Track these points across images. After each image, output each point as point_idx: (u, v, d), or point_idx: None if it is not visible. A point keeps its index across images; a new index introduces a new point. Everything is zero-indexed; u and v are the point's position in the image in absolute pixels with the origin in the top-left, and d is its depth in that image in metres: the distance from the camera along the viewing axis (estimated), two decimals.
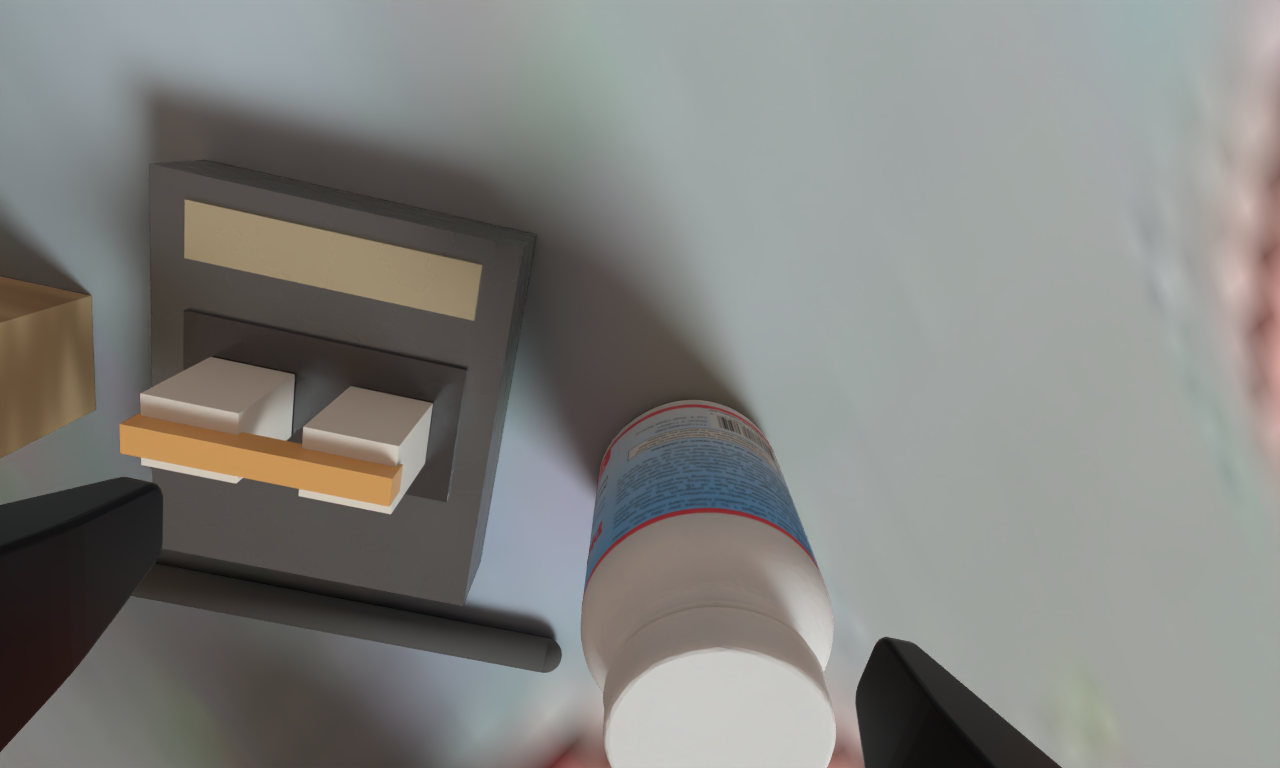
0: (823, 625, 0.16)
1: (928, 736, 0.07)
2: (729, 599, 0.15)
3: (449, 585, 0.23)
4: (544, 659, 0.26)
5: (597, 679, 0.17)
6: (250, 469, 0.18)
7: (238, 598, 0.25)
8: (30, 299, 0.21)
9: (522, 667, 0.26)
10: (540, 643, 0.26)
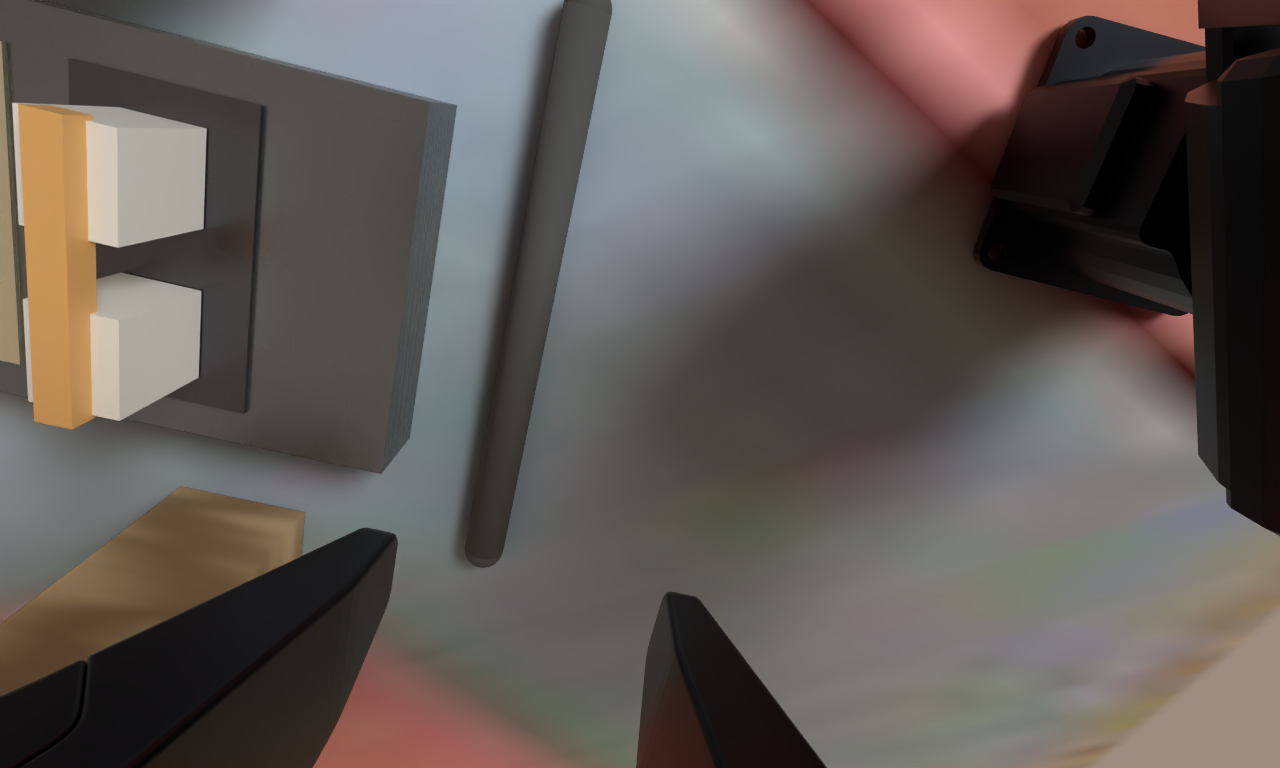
0: None
1: (670, 684, 0.07)
2: None
3: (397, 118, 0.17)
4: (575, 3, 0.17)
5: None
6: (53, 287, 0.14)
7: (495, 410, 0.21)
8: None
9: (590, 40, 0.18)
10: (563, 14, 0.18)
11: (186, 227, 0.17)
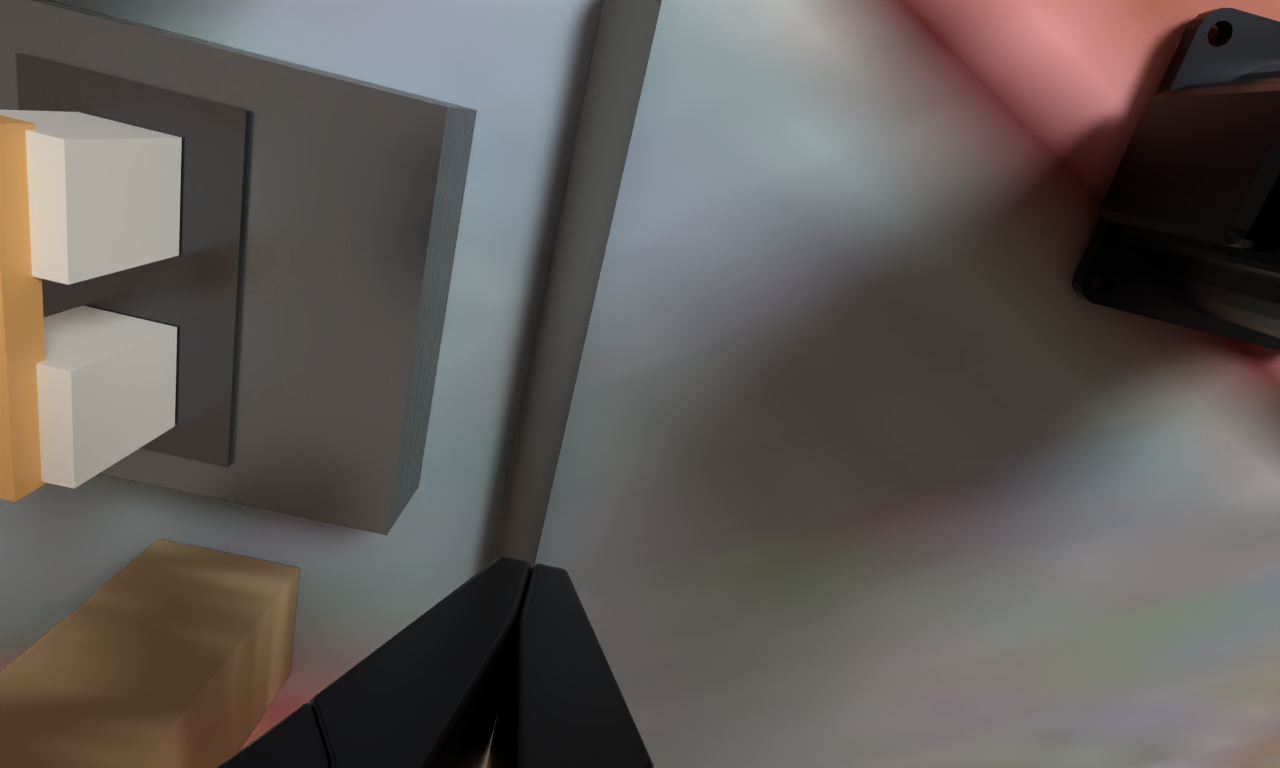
0: None
1: (512, 652, 0.07)
2: None
3: (408, 126, 0.14)
4: None
5: None
6: None
7: (517, 460, 0.18)
8: None
9: (636, 34, 0.15)
10: (604, 3, 0.15)
11: (157, 255, 0.14)
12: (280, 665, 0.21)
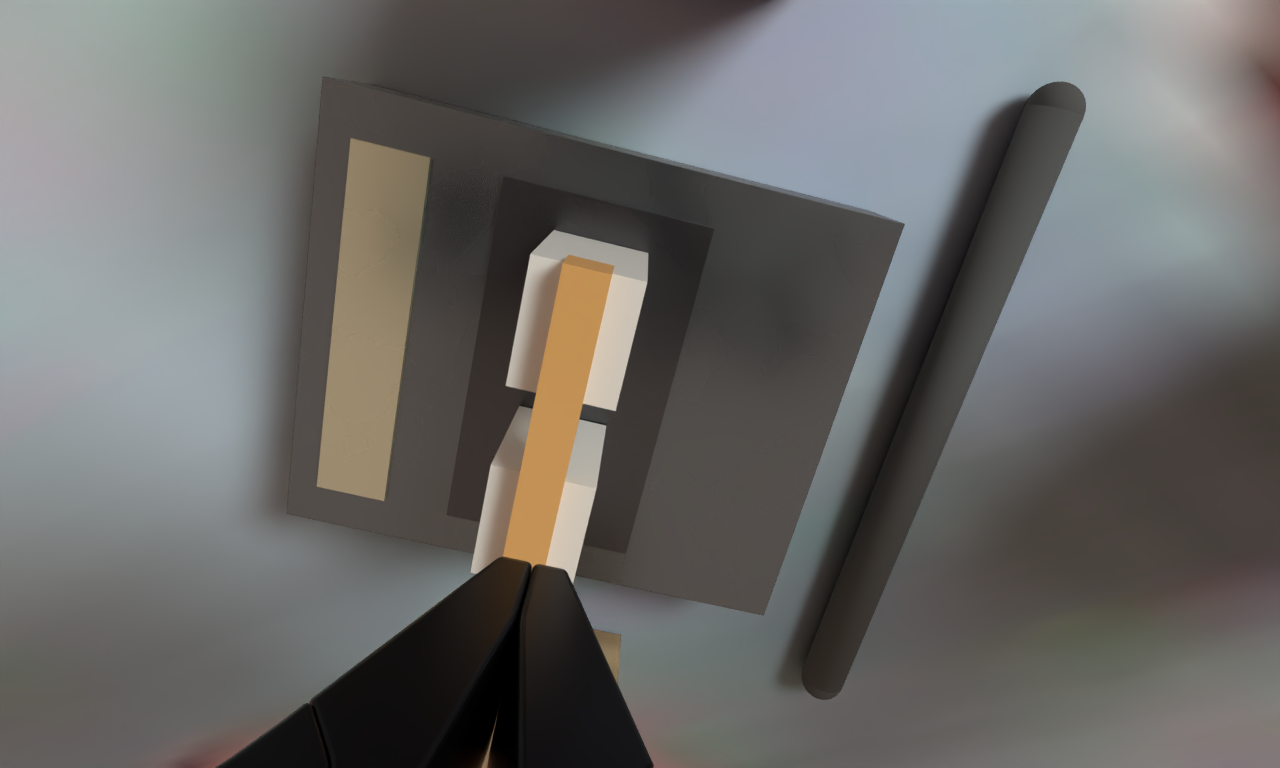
0: None
1: (512, 652, 0.07)
2: None
3: (863, 242, 0.15)
4: (1055, 107, 0.15)
5: None
6: (552, 461, 0.12)
7: (872, 539, 0.19)
8: None
9: (1064, 148, 0.15)
10: (1027, 117, 0.16)
11: None
12: None
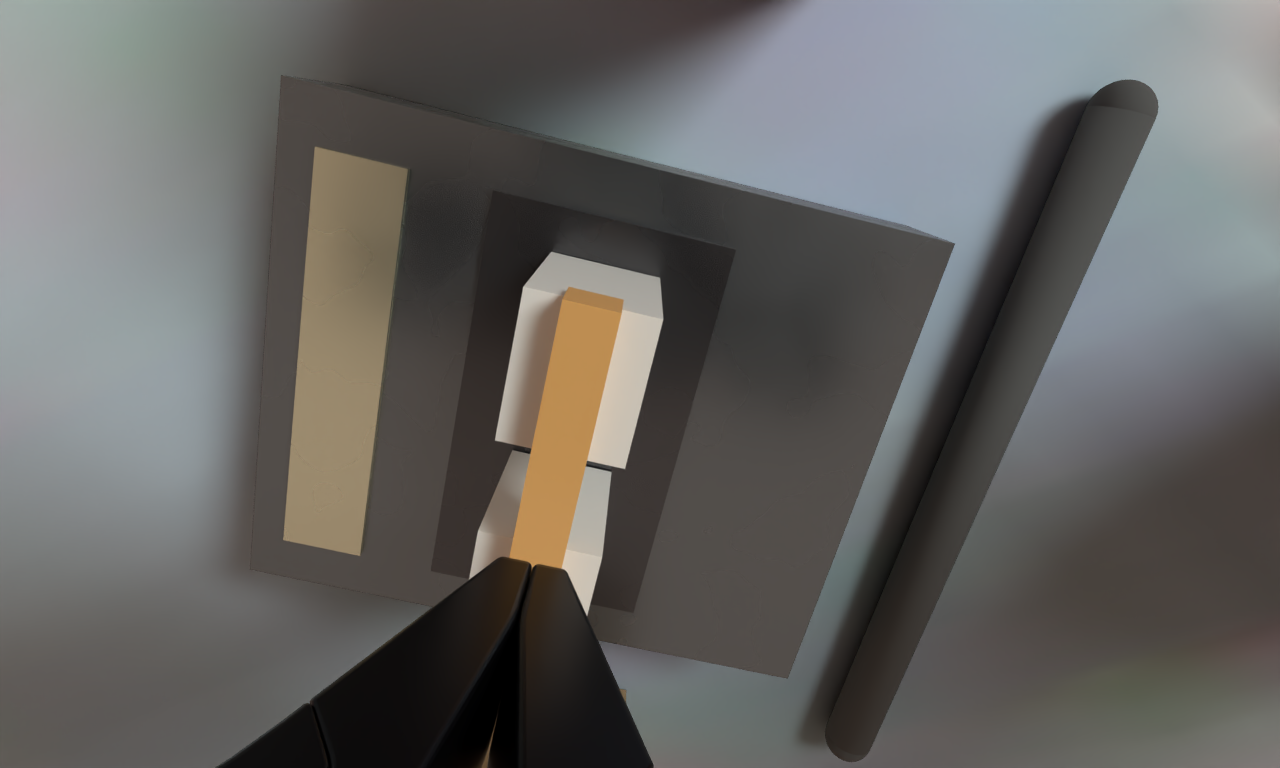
0: None
1: (511, 652, 0.07)
2: None
3: (907, 264, 0.13)
4: (1124, 109, 0.13)
5: None
6: (551, 531, 0.10)
7: (907, 589, 0.17)
8: None
9: (1133, 155, 0.14)
10: (1089, 120, 0.14)
11: None
12: None
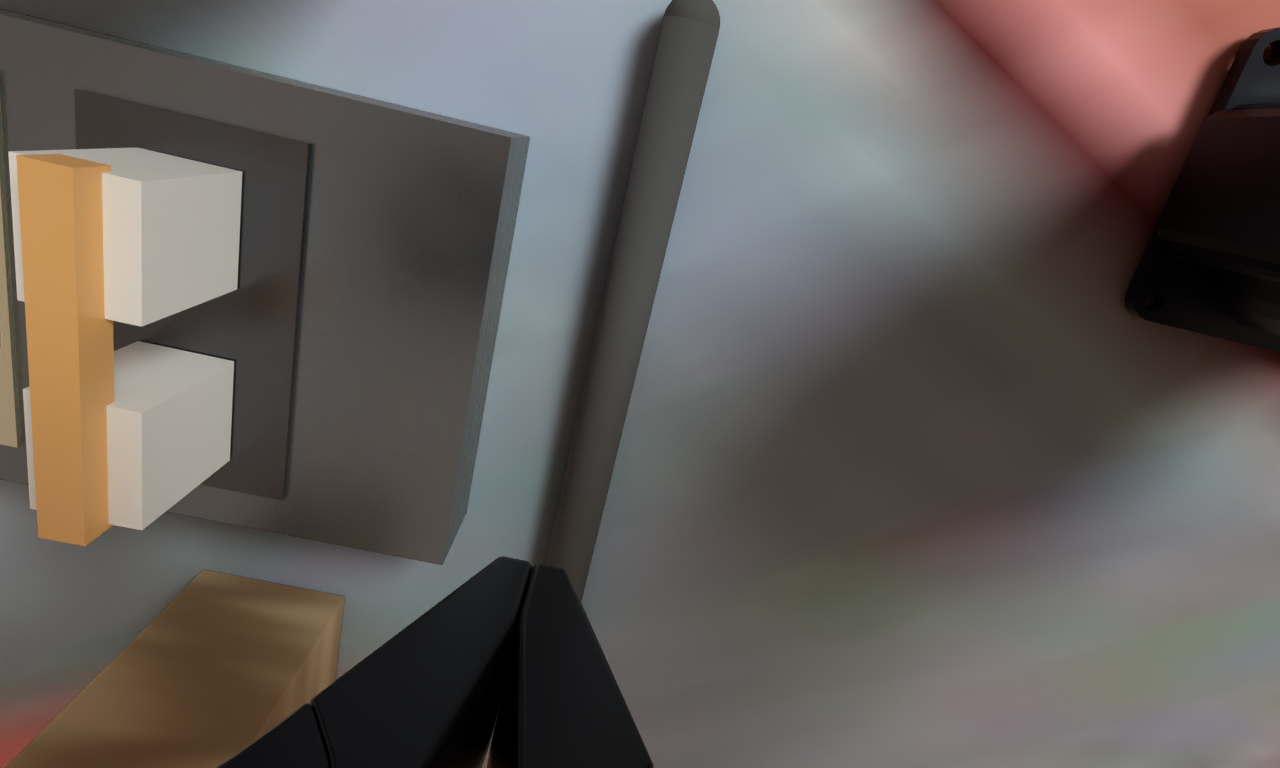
0: None
1: (512, 652, 0.07)
2: None
3: (471, 157, 0.14)
4: (680, 17, 0.14)
5: None
6: (61, 379, 0.12)
7: (570, 486, 0.18)
8: None
9: (697, 61, 0.15)
10: (662, 30, 0.15)
11: (218, 290, 0.14)
12: None
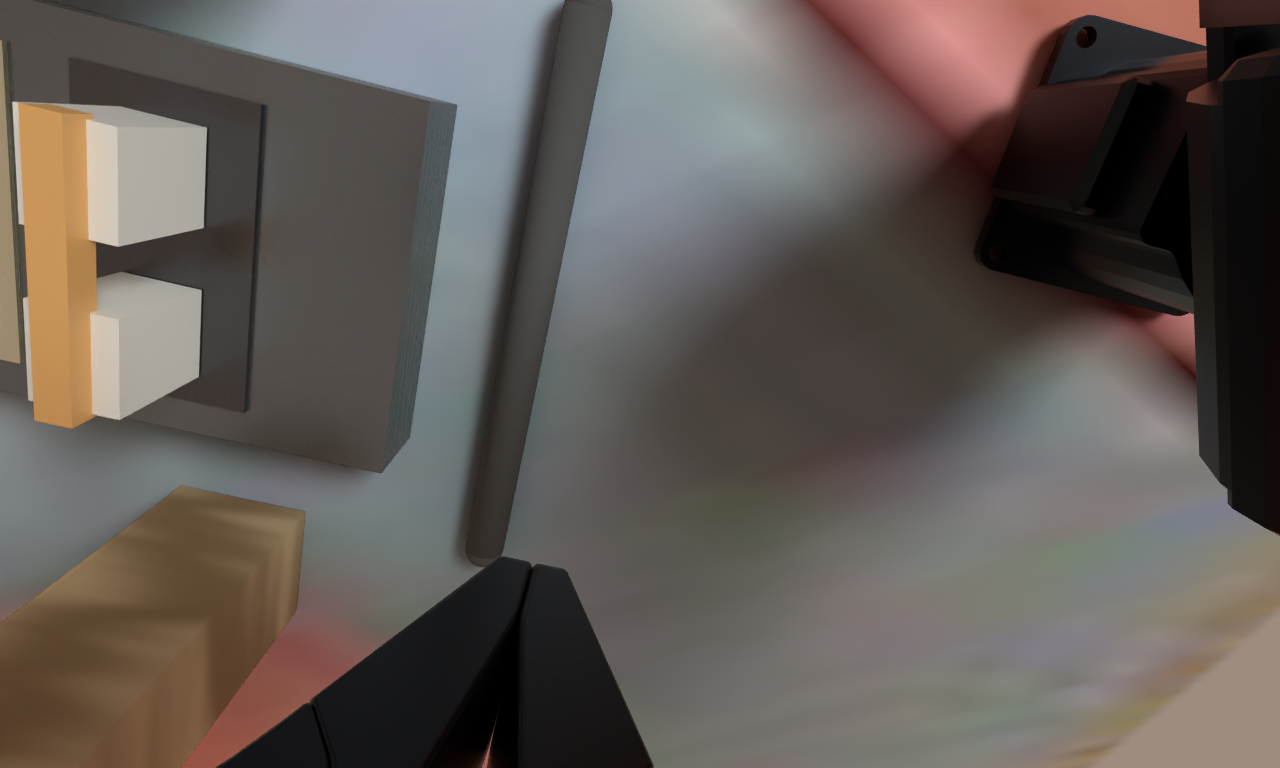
0: None
1: (512, 652, 0.07)
2: None
3: (397, 118, 0.17)
4: (576, 2, 0.17)
5: None
6: (53, 286, 0.14)
7: (496, 410, 0.21)
8: None
9: (591, 39, 0.17)
10: (563, 13, 0.18)
11: (186, 226, 0.17)
12: (288, 598, 0.24)
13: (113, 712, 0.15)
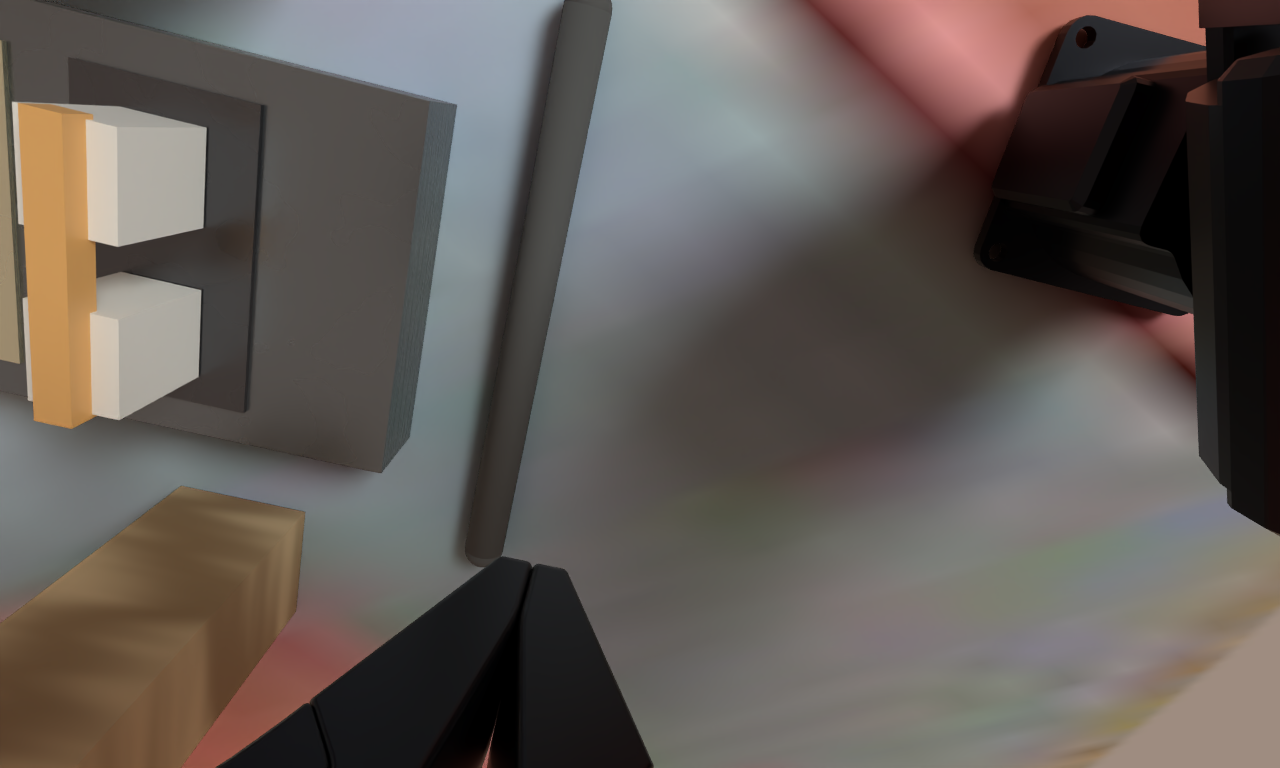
0: None
1: (512, 652, 0.07)
2: None
3: (397, 118, 0.17)
4: (575, 2, 0.17)
5: None
6: (53, 286, 0.14)
7: (495, 410, 0.21)
8: None
9: (590, 39, 0.17)
10: (563, 13, 0.18)
11: (186, 226, 0.17)
12: (288, 599, 0.24)
13: (113, 712, 0.15)
